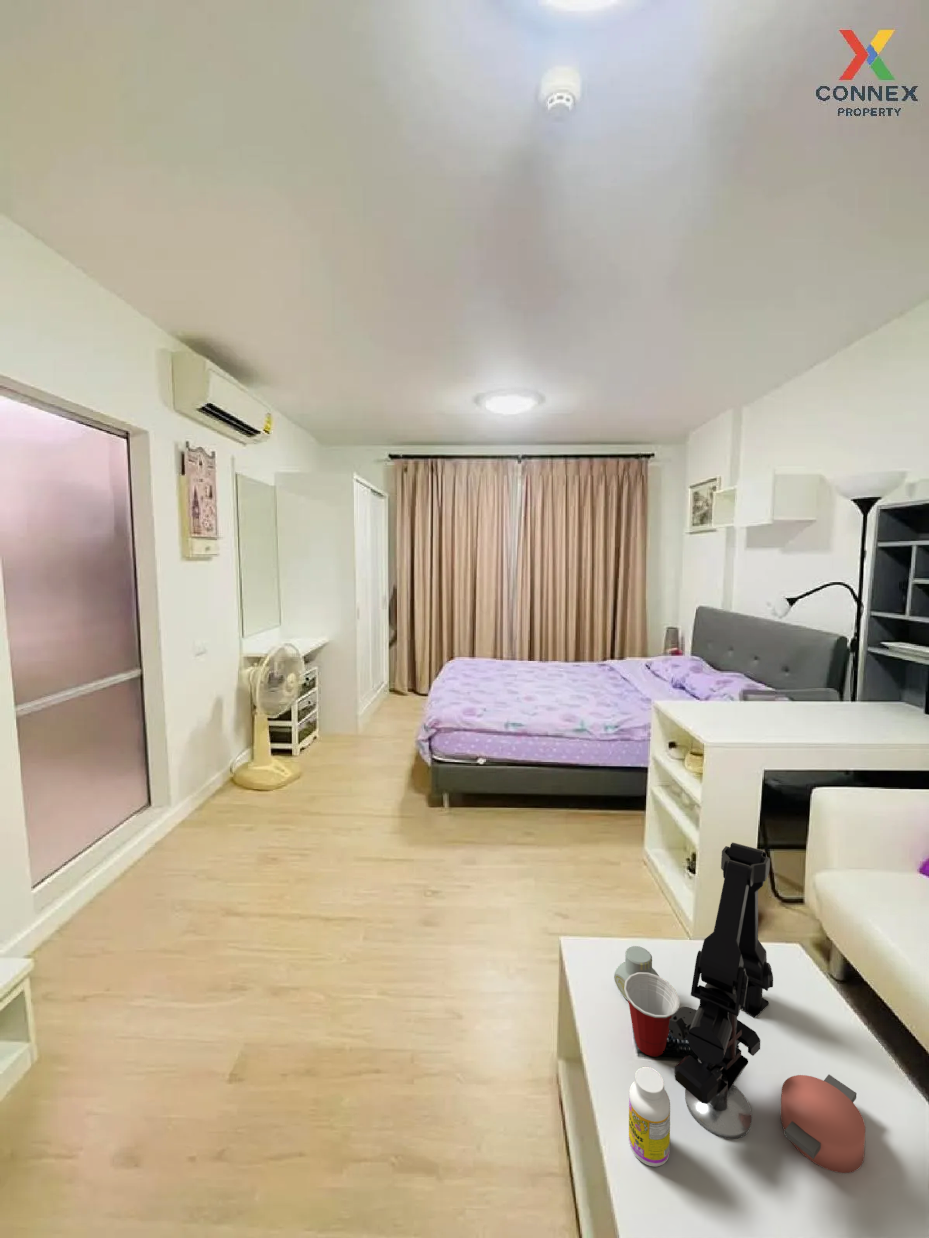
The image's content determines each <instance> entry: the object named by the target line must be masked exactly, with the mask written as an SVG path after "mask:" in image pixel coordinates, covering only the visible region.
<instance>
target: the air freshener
mask: <svg viewBox="0 0 929 1238" xmlns="http://www.w3.org/2000/svg"><path fill="white" fill-rule="evenodd" d="M624 960H625V961H624V962H622V963H620V964H619V965H618V966H617V968H615V971H614V973H613V979H614V980H613V981H614V983H615V986H616V987H617V989H618V991H619V992H620V995H622V997H624V999H625V1000H627V1001H628V999H627V996H626V993H625V990H624V986H625V981H626V979H627V978H628V977H629V976H630V975H632V974H635V973H638V972H646V973H651V974H654V975H657V976H659V977H660V975H659V974H658V972H657V971H656V970H655V969H654V968H653V956H652V954H651V952H650V951H648V949H647V948H644V947H641V946H639V945H638V946H637V945H633V946H632V945H631V946H629V947H628V948H626V950H625V959H624Z"/></svg>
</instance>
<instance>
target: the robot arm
mask: <svg viewBox="0 0 929 1238" xmlns="http://www.w3.org/2000/svg"><path fill="white" fill-rule="evenodd" d="M720 862H721V864H720V869H721V871H723V872H722V875H723V885H722V888H721V889H722V890H721V894H720V899H719V903H718V908H717V913H716V917H715V924H714V927H713V931H712V932H711V933H710V934H709V935H707V937H706V938H704V939H703V943H702V947H701V950H700V949H699V950H698V951H697V954H696V959H695V963H694V964H695V965H694V969H693V971H694V972H693V978H692V983H691V991H690V996H691V997H693V998H695V999H698V1000H699V1005H698V1008H697V1009H696V1008H692V1007H689V1006H681V1007H679V1008H678V1009H677V1011H676V1012H675V1013H674V1014H673V1015H672V1016H671V1017H672V1018H671V1019H669V1026H668V1027H669V1030H670V1031H669V1034H670V1035H671V1036H672V1037H673V1038H675V1039H676V1040H679V1041H684V1040H685V1039H686V1040H687V1043H688V1045H689V1047H690V1049H691V1051H692V1052H693V1053H694V1054H695V1055H696V1056H697V1057H698V1058H694V1057H693V1056H692V1055H686V1056H683V1058H682V1059H681V1060H680V1061H678V1062H677V1064H676V1065H674V1079H675V1081H676V1082H677V1083H679V1085H680V1086H682V1087H683V1088H684V1090H685V1089H686V1090H688V1091H689V1092H690V1093H691V1094H692V1095H693V1096H694V1097H696V1098H697V1099H698V1100H699V1101H700V1102H701V1103H704V1104H708V1103H710V1104H711V1105H712V1106H713V1107H715V1106H716V1105H717V1103H718V1101H719V1099H720V1098H721V1096H722V1094H723V1092H724V1090H725V1088H726V1087H727V1083H725V1082H724V1081H723V1080H722V1079H721V1077H722V1072H723V1073H724V1074H725V1075H726V1076H727V1078H728V1092H729V1090H730V1089H731V1087H732V1086H733V1085H735V1082H736V1081H738V1080H737V1079H738V1078H739V1077H740V1075H741V1074H742V1073H743V1071H744V1070H745V1068H746V1067H747V1065H749V1059H748V1058H746V1056H744V1055H743V1054H742V1049H740V1045H739V1044H743V1045H744V1046H745V1047H747V1053H748V1054H750V1055H751V1056H752V1057H754V1056H755V1055H756V1054H758V1052H759V1051H760V1050H761V1038H760V1037H759V1035H758V1034H757V1032H756V1031H755V1030H754V1029H752V1028H751V1027H749V1026H748V1025H746V1024H745V1023H743V1022H742V1021H740V1020H739V1019H738V1017H739V1015H740V1011H744V1012H745V1013H747V1014H748V1015H750V1016H751V1017H753V1018H757V1017H758V1016H759V1015H760V1014H761V1013H762V1012H763V1011H764V1010H765V1009H766V1008H768V1006H769V1005H770V1001H769V1000H767V999H765V997H763V993H764V992H763V990H764V991H766V992H769V989H770V988H774V975H773V971H772V967H771V964H770V963H769V962H768V961H767V960H768V957H767V956H768V955H767V950H766V949H765V947H764V946H763V944H762V943H761V941H759V890H760V889H761V888H762V887H763V886H764V882H766V880H767V879H768V876H769V874H770V868H771V859H770V857H768V856H767V852H766V851H764V850H762V849H759V848H755V847H752V846H748V845H744V844H740V843H736V842H731V843H730V846H725V847H723V849H722V850H721V861H720ZM700 978H701V981H702V982H703V983H705V985H704V986H703V985H701V984H699V982H700Z"/></svg>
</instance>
